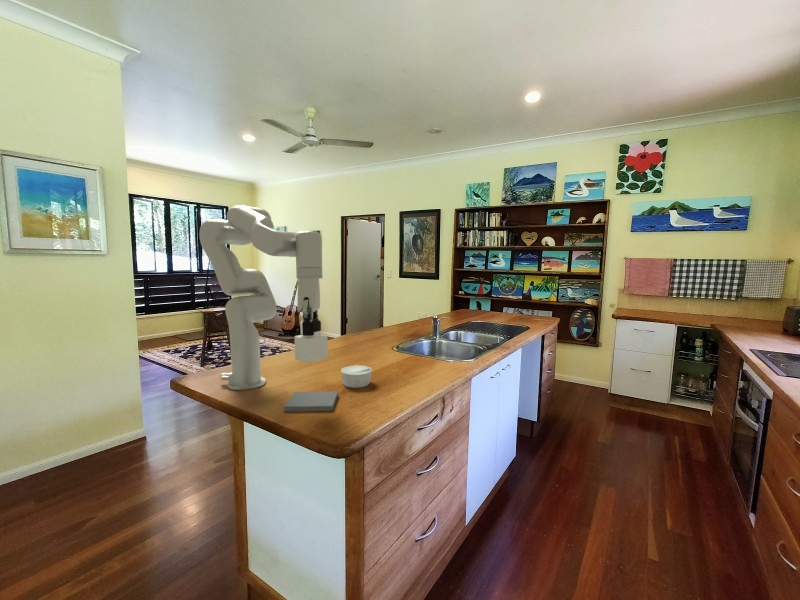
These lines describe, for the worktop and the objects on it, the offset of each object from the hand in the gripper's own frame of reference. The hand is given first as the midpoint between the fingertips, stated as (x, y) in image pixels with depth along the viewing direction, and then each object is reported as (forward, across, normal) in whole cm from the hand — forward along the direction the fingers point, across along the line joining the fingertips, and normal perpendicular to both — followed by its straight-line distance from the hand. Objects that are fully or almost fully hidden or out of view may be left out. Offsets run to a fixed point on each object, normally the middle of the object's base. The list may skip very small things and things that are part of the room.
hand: (310, 332), depth 108 cm
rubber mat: (+22, 0, 0) cm, 22 cm away
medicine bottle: (+8, 0, 0) cm, 8 cm away
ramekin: (+22, -18, +12) cm, 31 cm away
